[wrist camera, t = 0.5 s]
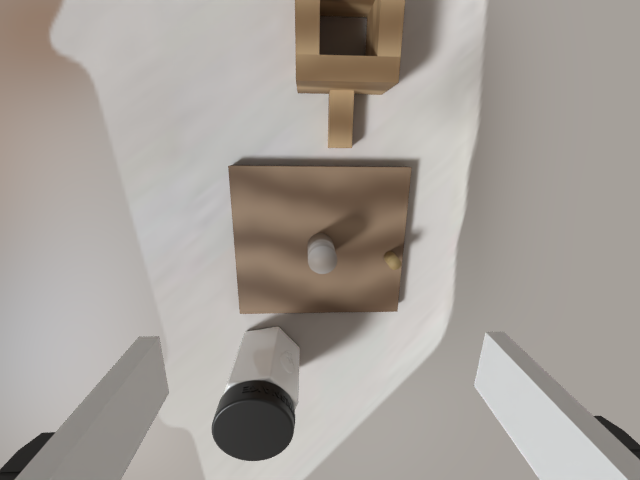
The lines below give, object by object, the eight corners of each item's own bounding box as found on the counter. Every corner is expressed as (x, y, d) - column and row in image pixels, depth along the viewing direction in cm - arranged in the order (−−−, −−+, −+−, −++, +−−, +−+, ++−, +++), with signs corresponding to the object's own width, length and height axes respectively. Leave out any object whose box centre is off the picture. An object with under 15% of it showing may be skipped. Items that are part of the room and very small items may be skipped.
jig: (231, 165, 33) (214, 169, 27) (407, 166, 34) (429, 170, 28) (242, 307, 38) (230, 338, 32) (393, 305, 39) (410, 334, 33)
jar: (311, 356, 41) (313, 436, 30) (267, 387, 42) (253, 476, 31) (268, 313, 39) (252, 381, 27) (223, 347, 40) (190, 427, 29)
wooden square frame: (296, -10, 29) (294, -49, 23) (388, -6, 29) (408, -45, 23) (298, 147, 33) (296, 146, 27) (378, 148, 33) (393, 148, 28)
